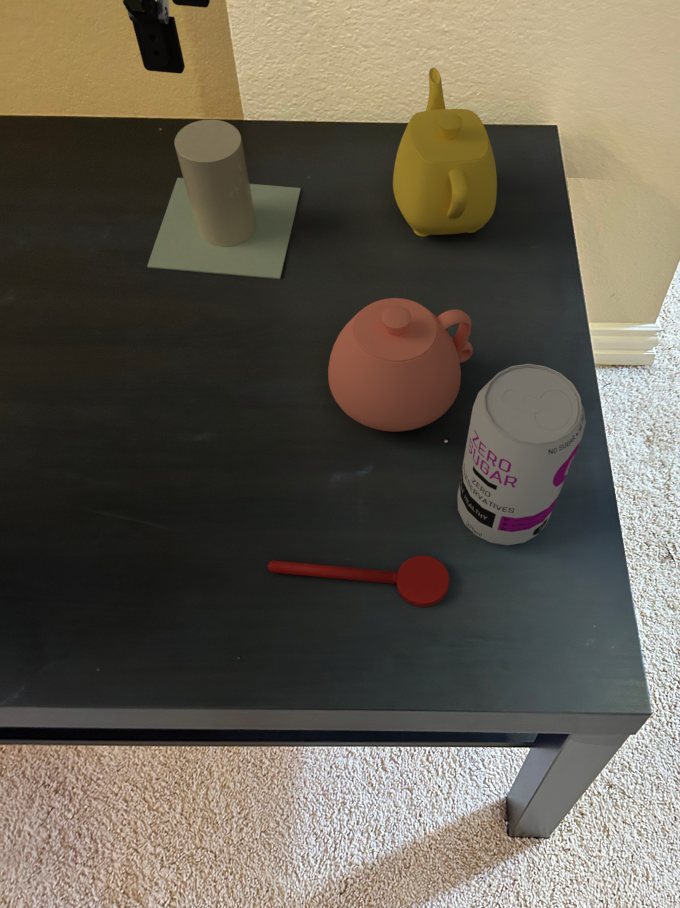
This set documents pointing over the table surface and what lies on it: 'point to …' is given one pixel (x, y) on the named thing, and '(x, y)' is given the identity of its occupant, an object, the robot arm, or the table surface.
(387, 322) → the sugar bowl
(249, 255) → the mat
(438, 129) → the teapot
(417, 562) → the spoon
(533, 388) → the supplement can
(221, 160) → the beige cylinder
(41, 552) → the table surface
